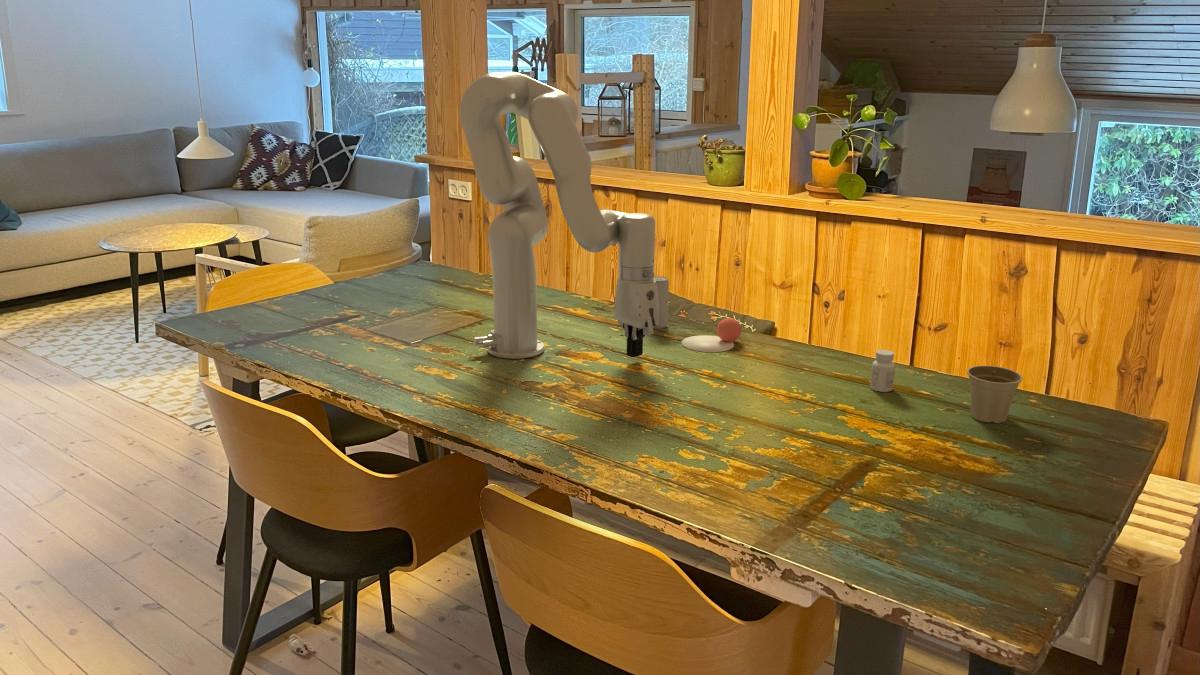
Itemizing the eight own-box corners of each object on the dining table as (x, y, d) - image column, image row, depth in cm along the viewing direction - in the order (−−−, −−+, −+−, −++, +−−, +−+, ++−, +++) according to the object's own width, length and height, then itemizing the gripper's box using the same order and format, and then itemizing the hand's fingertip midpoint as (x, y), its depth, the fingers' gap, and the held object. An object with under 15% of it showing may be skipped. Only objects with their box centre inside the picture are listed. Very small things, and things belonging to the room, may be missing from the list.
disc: (698, 354, 205) (698, 354, 205) (672, 339, 216) (672, 339, 216) (744, 348, 210) (744, 347, 210) (716, 333, 220) (716, 332, 220)
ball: (749, 333, 215) (733, 350, 213) (731, 325, 218) (716, 341, 217) (742, 318, 211) (726, 335, 209) (724, 309, 215) (708, 326, 213)
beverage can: (668, 329, 224) (669, 281, 220) (648, 329, 224) (649, 280, 220) (667, 323, 228) (668, 276, 225) (647, 323, 228) (648, 276, 225)
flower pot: (1011, 431, 166) (1018, 386, 163) (956, 420, 170) (962, 376, 168) (1019, 414, 173) (1026, 371, 171) (967, 404, 178) (972, 362, 175)
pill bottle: (893, 386, 187) (897, 350, 185) (892, 393, 183) (896, 356, 181) (870, 383, 189) (874, 347, 186) (869, 391, 185) (872, 354, 182)
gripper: (673, 277, 191) (670, 361, 197) (628, 263, 203) (626, 343, 208) (644, 282, 187) (642, 368, 192) (600, 268, 198) (600, 349, 204)
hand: (634, 355), depth 200 cm, fingers closed
